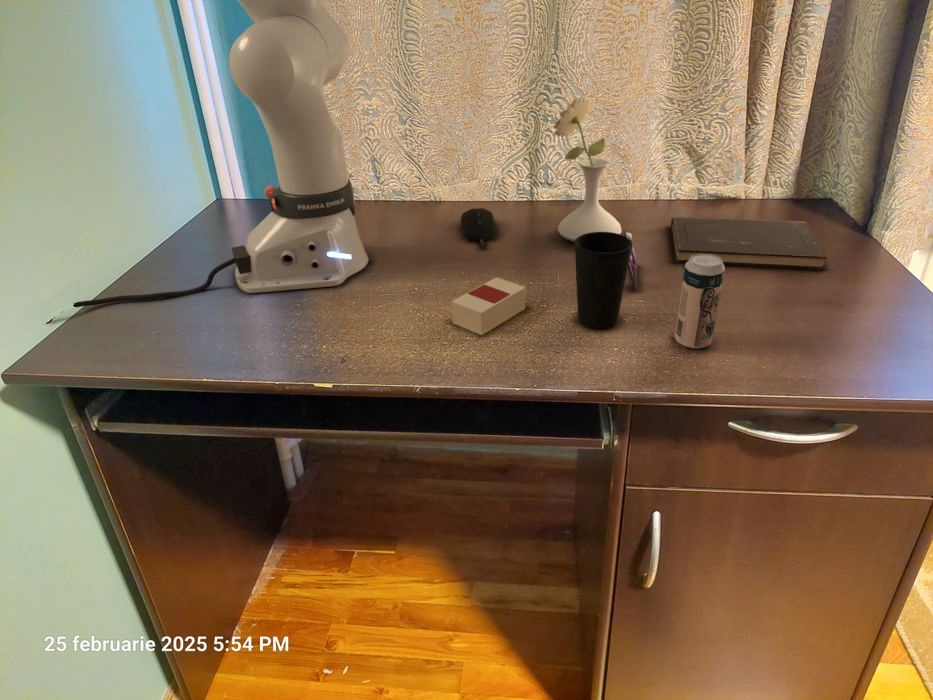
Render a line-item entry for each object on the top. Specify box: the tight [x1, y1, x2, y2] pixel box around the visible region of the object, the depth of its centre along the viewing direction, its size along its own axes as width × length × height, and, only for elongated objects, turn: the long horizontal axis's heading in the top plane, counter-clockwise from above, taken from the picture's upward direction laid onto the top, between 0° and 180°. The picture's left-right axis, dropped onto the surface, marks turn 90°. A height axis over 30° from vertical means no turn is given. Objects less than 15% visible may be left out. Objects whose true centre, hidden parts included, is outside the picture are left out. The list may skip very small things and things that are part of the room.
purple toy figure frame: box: [623, 229, 638, 291], centre depth 106 cm, size 7×5×9 cm
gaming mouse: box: [460, 207, 496, 250], centre depth 124 cm, size 6×15×4 cm, turn 4°
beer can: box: [674, 253, 726, 350], centre depth 86 cm, size 5×5×12 cm
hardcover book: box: [670, 216, 828, 271], centre depth 115 cm, size 16×23×2 cm
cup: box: [574, 232, 634, 331], centre depth 92 cm, size 8×8×12 cm
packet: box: [451, 276, 527, 336], centre depth 97 cm, size 10×6×4 cm, turn 138°
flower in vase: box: [553, 95, 622, 243], centre depth 115 cm, size 13×11×25 cm
